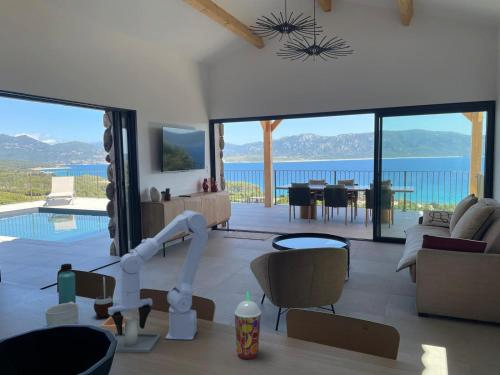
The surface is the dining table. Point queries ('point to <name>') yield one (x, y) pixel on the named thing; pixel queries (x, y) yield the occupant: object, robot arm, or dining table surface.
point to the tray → (143, 345)
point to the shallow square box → (113, 325)
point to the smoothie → (247, 328)
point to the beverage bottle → (66, 285)
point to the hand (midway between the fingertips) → (131, 330)
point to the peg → (131, 331)
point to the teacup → (62, 314)
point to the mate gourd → (103, 305)
